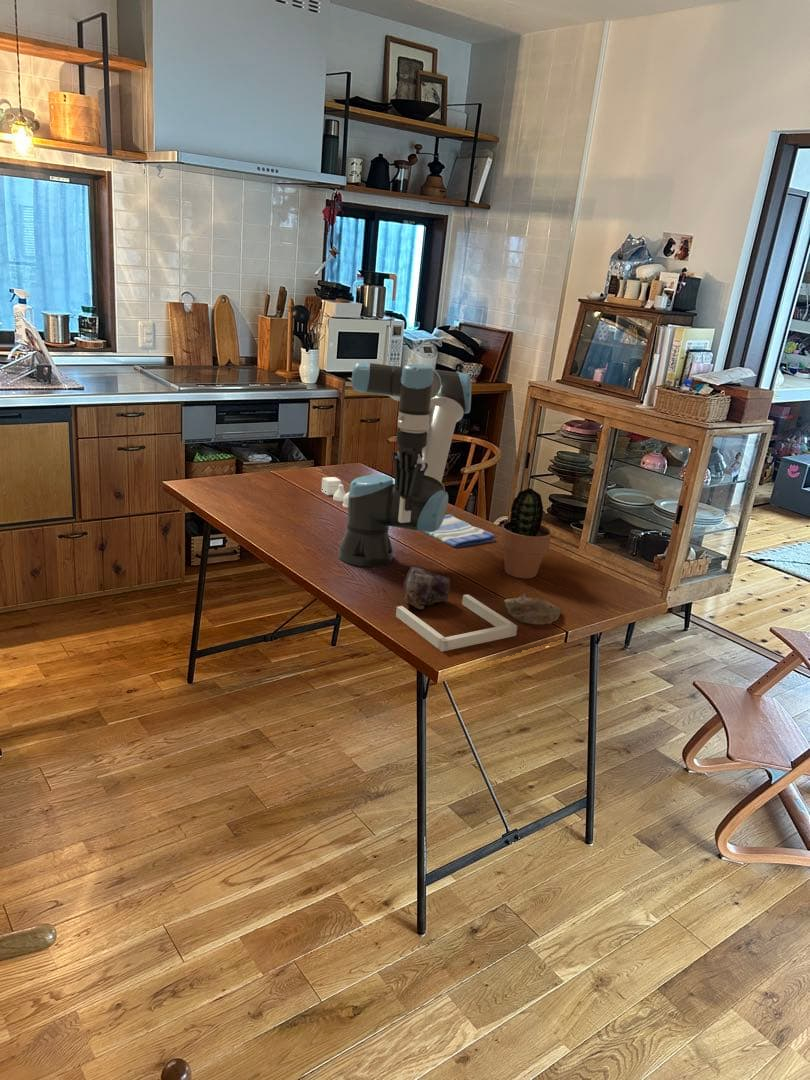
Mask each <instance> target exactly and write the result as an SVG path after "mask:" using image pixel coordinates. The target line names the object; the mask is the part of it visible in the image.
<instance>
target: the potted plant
mask: <svg viewBox="0 0 810 1080" xmlns="http://www.w3.org/2000/svg"><path fill="white" fill-rule="evenodd" d="M543 515H544V505H543V501H542V496H541V494H540V493H539V492H538V491H536V490H534V489H532V488H531V487H530V488H527V489H523V490H522V491H519V492H518V493H517V496H516V497H514V499H513V502H512V506H511V509H510V519H509V520H510V521H507V522H504V523H503V524H502V525H501V535H500V536H501V537H500V543H501V545H502V547H503V561H504V572H505V573H506V574H507V575H509V576H511V577H514V578H519V579H532V578H534V577H536V576H537V574H538V571H539V569H540V566H541V563H542V560H543V559H544V556H545V552H546V551H548V549H549V548H550V543H551V538H552V537H551V536H552V533H553V531H552V530H551V529H550V528H549V527H548V526H546V525H543V524H542V519H543Z"/></svg>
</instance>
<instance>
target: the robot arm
mask: <svg viewBox="0 0 810 1080" xmlns="http://www.w3.org/2000/svg"><path fill="white" fill-rule="evenodd" d="M351 374H352V375H351V387H352V389H353V391H355V392H359V393H363V394H371V395H372V394H373V395H381V396H388V397H390V398H391V399H393V400H394V401H397V402H399V406H398V416H397V427H398V429H397V431H396V438H395V444H396V445H397V446H399V447H398V451H393V452H392V454H391V455H392V458H393V459H392V460H393V468H394V469H393V472H394V473H393V474H394V479H393V478H392V476H388V475H384V474H383V475H382V474H368V475H362V476H359V477H356V478H354V479H353V480H352V481H351V483H350V485H349V491H348V492H349V495H348V497H349V502H348V508H347V518H346V519H347V521H346V522H347V523H346V530H345V533H344V535H343V538H342V540H341V543H340V545H339V548H338V558H339V559H340V560H342V561H343V562H345V563H347V564H349V565H354V566H360V567H380V566H381V567H382V566H386V565H388V564H390V563H391V562H392V561H393V556H394V555H393V554H394V552H393V547H392V543H391V538H390V536H389V535H390V534H389V528H390V527H392V528H401V529H407V530H412V531H418V532H421V533H424V532H423V531H426V532H434V531H436V530H438V529H439V527H440V526H441V524H442V522H443V519H444V517H445V515H447V513H446V512H447V509H448V504H449V494H448V492H447V491H446V487H445V485H444V483H443V482H442V481H443V477H444V474H445V469H446V464H447V461H448V457H449V452H450V448H451V445H452V440H453V436H454V432H455V428H456V425H457V423H458V422H460V421H461V420H462V419H463V417H464V415H466V414H469V413H470V412H471V405H472V378H471V375H470V374H468V373H466V372H465V373H464V372H460V371H457V370H456V371H448V370H440V369H434V368H432V367H431V366H430V365H425V364H414V363H412V364H411V363H410V364H405V365H404V366H397V365H387V364H380V363H372V362H363V361H362V362H361V361H360V362H356V363H355V364H354V366H353V368H352V373H351Z"/></svg>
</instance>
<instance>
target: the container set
mask: <svg viewBox="0 0 810 1080" xmlns="http://www.w3.org/2000/svg"><path fill="white" fill-rule="evenodd" d="M344 487H345V486H344V484H342V480H341V479H339V478H338V477H336V476H329V477H328V476H327V477H322V479H321V492H322V493H323V494H325V495H326V496H333V497H332V498H333V499H332V500H333V501H336V502H340V503H341V502H343V503H342V507H343V508H347V509H348V502H349V497H348V495H349V491H347V492H346V491H345V489H344ZM322 489H323V490H322ZM325 491H326V492H325Z"/></svg>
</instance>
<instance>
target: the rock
mask: <svg viewBox="0 0 810 1080" xmlns="http://www.w3.org/2000/svg"><path fill="white" fill-rule="evenodd" d="M450 587H451V581H450V578H449V577H446V576H444V575H441V574H437V573H434V572H431V571H429V570H425V569H423V568H420V567H415V566H411V567H410V569H409V570H408V571H407V573H406V576H405V579H404V581H403V591H404V594H405V595H404V603H406V604H407V605H408V604H409V605H411V606H412V607H415V608H416V609H418V610H424V609H425V606H431V605H432V606H433V605H434V604H435V603H441V602H446V601H448V599H449V593H450Z"/></svg>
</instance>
